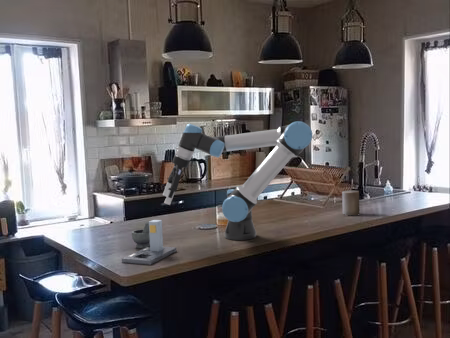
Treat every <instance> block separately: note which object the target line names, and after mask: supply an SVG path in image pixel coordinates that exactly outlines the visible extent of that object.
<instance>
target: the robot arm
mask: <svg viewBox="0 0 450 338" xmlns="http://www.w3.org/2000/svg"><path fill="white" fill-rule="evenodd" d="M312 139H313V130H312V128H311V126H310V125H309V124H308V123H306V122H304V121H300V120H297V121H293V122H291V123H290V124H288V125H283V126H282V125H280V126H278V128H277V129H268V130H267V129H266V130H260V131H258V130H257V131H251V132H244V133H238V134H237V133H236V134H228V135H220V136H213V137H212V136H209V135H207V134H204V133H203V128H201V127H200V126H197V125H195V124H192V123H188V124H186V126H185V129H184V130H183V132H182V136H181V138H180V141H179V144H178V146H177V147H176V148H175V155H174V156H173V159H172V164H174V165H173V168H172V170H171V172H170V174H169V176H168V178H167V182H166V185H165V188H164V189H163V190H164V191H163V193H162V196H164V197H166V198H165V200H164V202H163V204H165V205H169V206H171V203H172V202H173V198H174V195H175V193H176V192H177V190H178V187H179V184H180V181H181V177H182V174H183V171H184V170H183V168H184V169H187V168H189V165H190V162H191V161H190V160H192V157H193V155H194V152H195V149H196V150H199V151H200V152H203V153H206V154H208V155H210V156H211V157H215V158H220V157H221V156H222V153H225V152H232V151H239V150H240V151H241V150H249V149H258V148H265V147H274V148H273V149H272V151H270V153H269V154H268V155H267V156H266V157H265V158H264V160H263V161H262V162H261V163H260V164H259V165H258V167H257V168H256V169H255V170H254V171H253V172H252V174H251V175H250V176H249V177H248V178H247V180H246V181H245V182H244V183H243V184H242V185H238V186H236V187H235V188H234V189H227V191H226V197H227V198H225V199H224V200H223V202H222V205H221V210H222V214H223V216H224V217H225V218H226V219H227V223H226V227H225V230H224V238H225V239H227V240H232V241H243V240H246V241H247V240H252V239H255V238H256V237H257V231H256V228H255V224H254V221H253V208H254V207H255V206H256V205H257V203H258V201H257V200H258V197H259V196H260V195H261V194H262V193H263V191H264V190H266V188H267V187H268V186H269V185H270V184H271V183H272V181H273V180H274V179H275V178H276V176H278V174H279V173H280V172H281V171H282V169H284V167H286V165H287V164H288V163H289V162H290V160H291V159H292V158H298V157H299V155H300V154H301V153H302V152H303V151H304V150H305V148H306V147H307V148H308V146H309V145H310V144H311V142H312Z"/></svg>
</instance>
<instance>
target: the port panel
mask: <svg viewBox="0 0 450 338" xmlns="http://www.w3.org/2000/svg"><path fill="white" fill-rule="evenodd" d="M175 252H177V247H174V246H172V247H171V246H163V250H162V251H160V252H157V251H150V246H148V247H146V248H141V249H140V250H137V251H135V252H133V253H131V254H129V255H127V256H124V257H123V258H121V263H124V264H135V265H137V264H138V265H149V266H151V265H152V264H153V265H154V264H155V263H156V262H157V263H158V261H160V260H162V259H164V258H166V257H168V256H170V255H172V254H174V253H175Z"/></svg>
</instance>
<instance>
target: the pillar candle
mask: <svg viewBox="0 0 450 338" xmlns="http://www.w3.org/2000/svg"><path fill="white" fill-rule="evenodd" d="M341 193H342V194H341V198H342V203H341V204H342V205H341V206H342V215H343V214H345V215H344V216H346V215H357V216H359V215H358V214H360V215H361V213H360V191H359V190H353V189H350V190H343V191H342V192H341Z"/></svg>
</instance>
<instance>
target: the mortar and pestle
mask: <svg viewBox="0 0 450 338" xmlns="http://www.w3.org/2000/svg"><path fill="white" fill-rule="evenodd" d="M149 221H150V220H149ZM149 221H147V220H146V221H145V222H144V226H143V229H135V230H132V231H131V238H132V240H133V242H134V243H135V244H136V248H138V249H144V248H146V247H148V246H150V235H149Z"/></svg>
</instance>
